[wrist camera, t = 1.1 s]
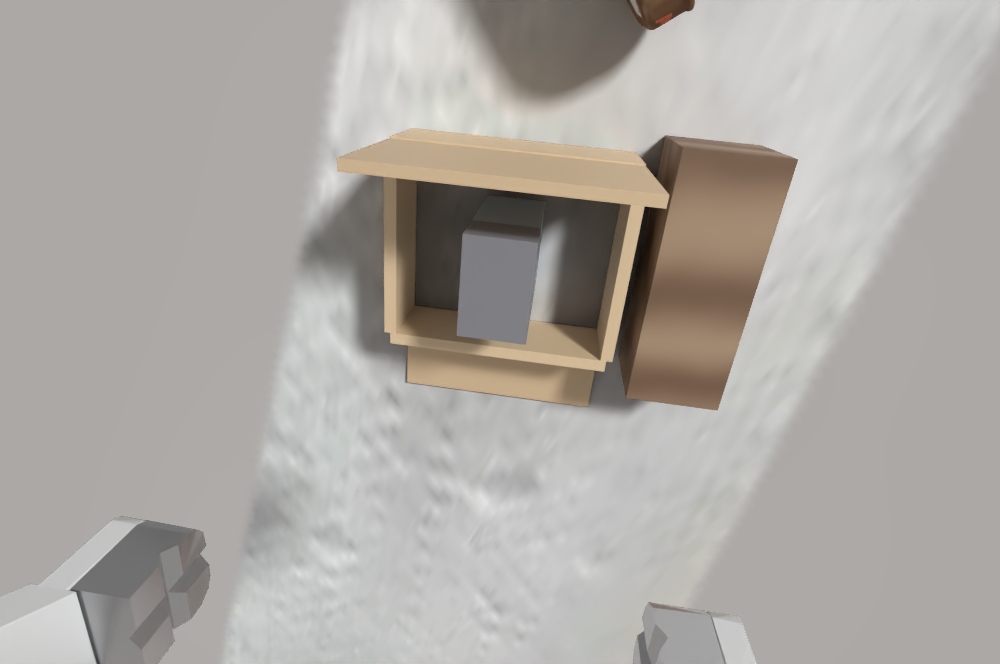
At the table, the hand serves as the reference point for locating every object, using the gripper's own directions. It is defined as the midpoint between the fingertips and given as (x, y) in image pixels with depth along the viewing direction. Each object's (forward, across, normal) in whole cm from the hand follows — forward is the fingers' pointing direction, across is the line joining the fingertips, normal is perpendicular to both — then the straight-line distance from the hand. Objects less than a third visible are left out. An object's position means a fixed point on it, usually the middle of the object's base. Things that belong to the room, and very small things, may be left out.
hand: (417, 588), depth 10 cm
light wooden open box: (+31, +1, +4) cm, 31 cm away
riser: (+31, -11, +1) cm, 33 cm away
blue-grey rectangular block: (+31, +1, +1) cm, 31 cm away
